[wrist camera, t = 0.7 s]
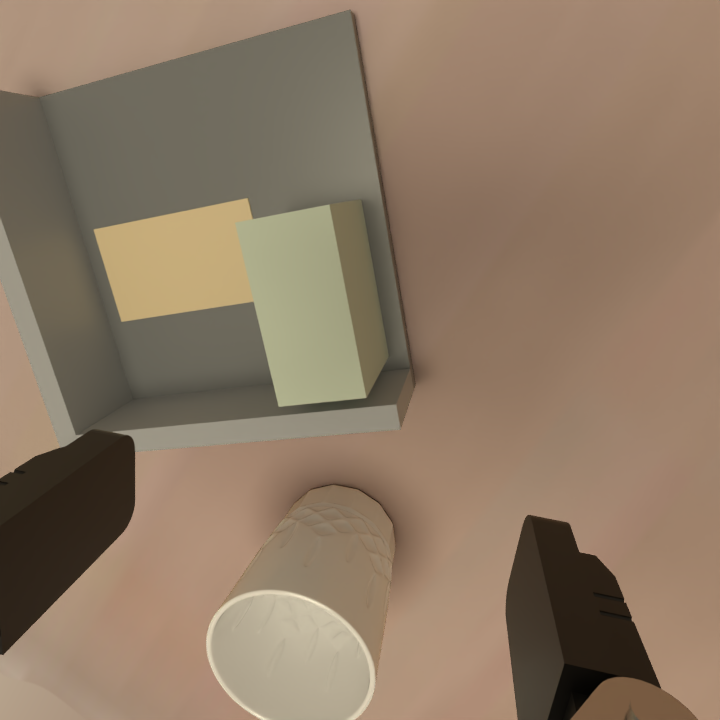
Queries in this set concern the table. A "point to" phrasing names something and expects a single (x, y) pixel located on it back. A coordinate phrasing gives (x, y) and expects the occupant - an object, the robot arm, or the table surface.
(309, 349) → the sage block
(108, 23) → the table surface
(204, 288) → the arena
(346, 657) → the white cup
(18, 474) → the robot arm
